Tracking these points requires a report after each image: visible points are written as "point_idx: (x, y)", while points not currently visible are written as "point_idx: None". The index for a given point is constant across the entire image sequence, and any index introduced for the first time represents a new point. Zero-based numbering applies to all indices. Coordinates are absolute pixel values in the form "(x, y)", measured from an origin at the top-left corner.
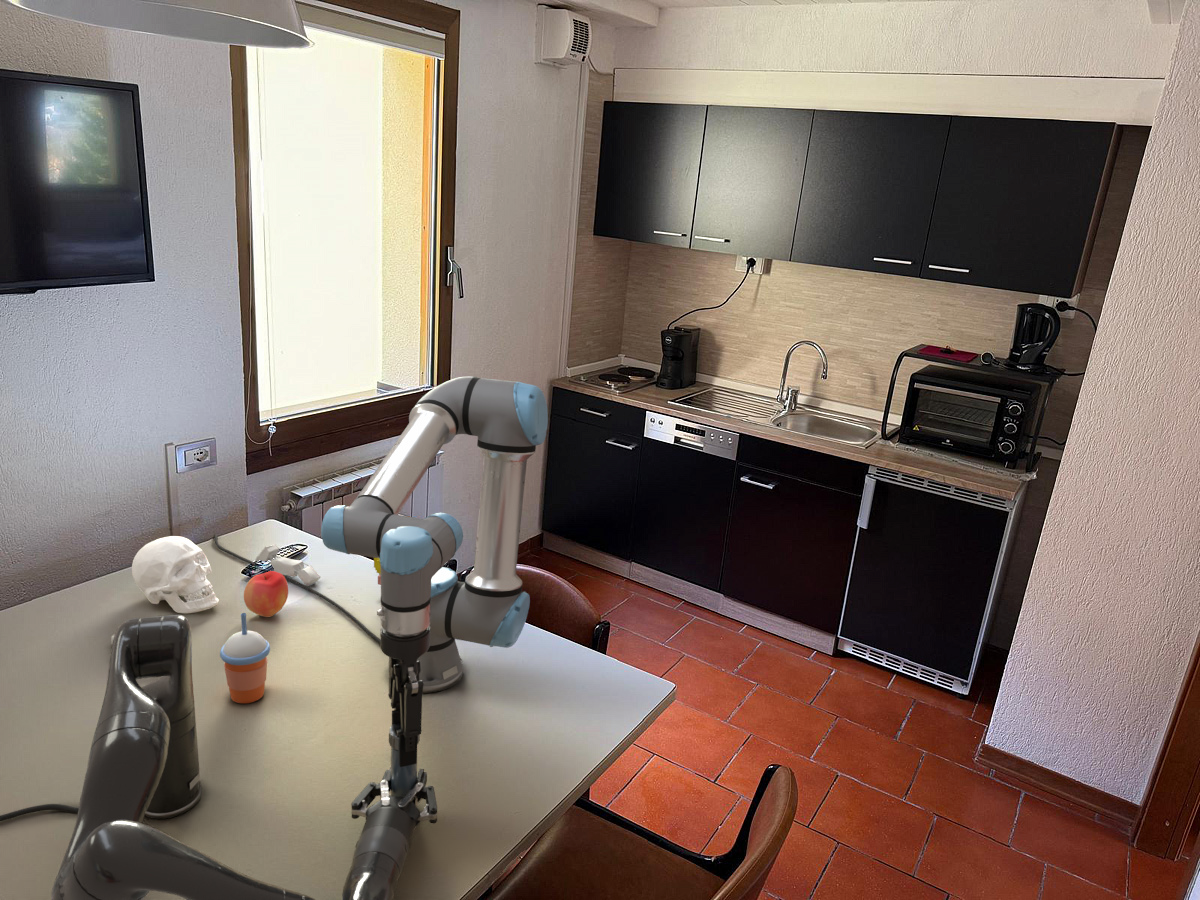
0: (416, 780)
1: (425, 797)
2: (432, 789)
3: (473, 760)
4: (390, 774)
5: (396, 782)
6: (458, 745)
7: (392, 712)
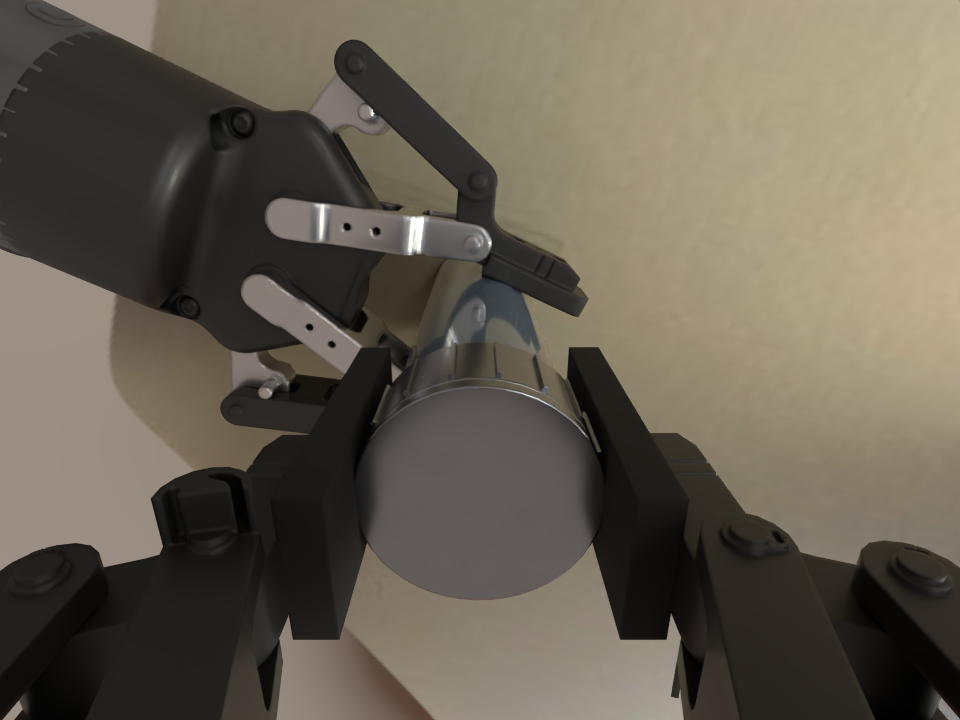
0: None
1: None
2: None
3: None
4: (524, 286)
5: (436, 300)
6: None
7: (657, 497)
